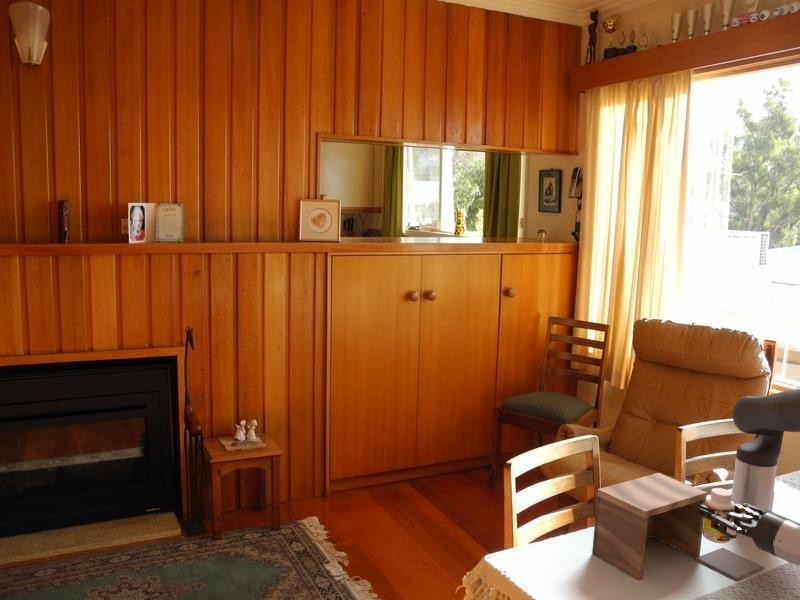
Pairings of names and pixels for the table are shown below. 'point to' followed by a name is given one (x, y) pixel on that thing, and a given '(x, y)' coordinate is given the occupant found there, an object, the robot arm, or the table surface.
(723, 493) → the supplement bottle
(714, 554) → the mat
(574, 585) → the table surface
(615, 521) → the cubby
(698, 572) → the table surface
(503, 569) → the table surface
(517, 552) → the table surface
